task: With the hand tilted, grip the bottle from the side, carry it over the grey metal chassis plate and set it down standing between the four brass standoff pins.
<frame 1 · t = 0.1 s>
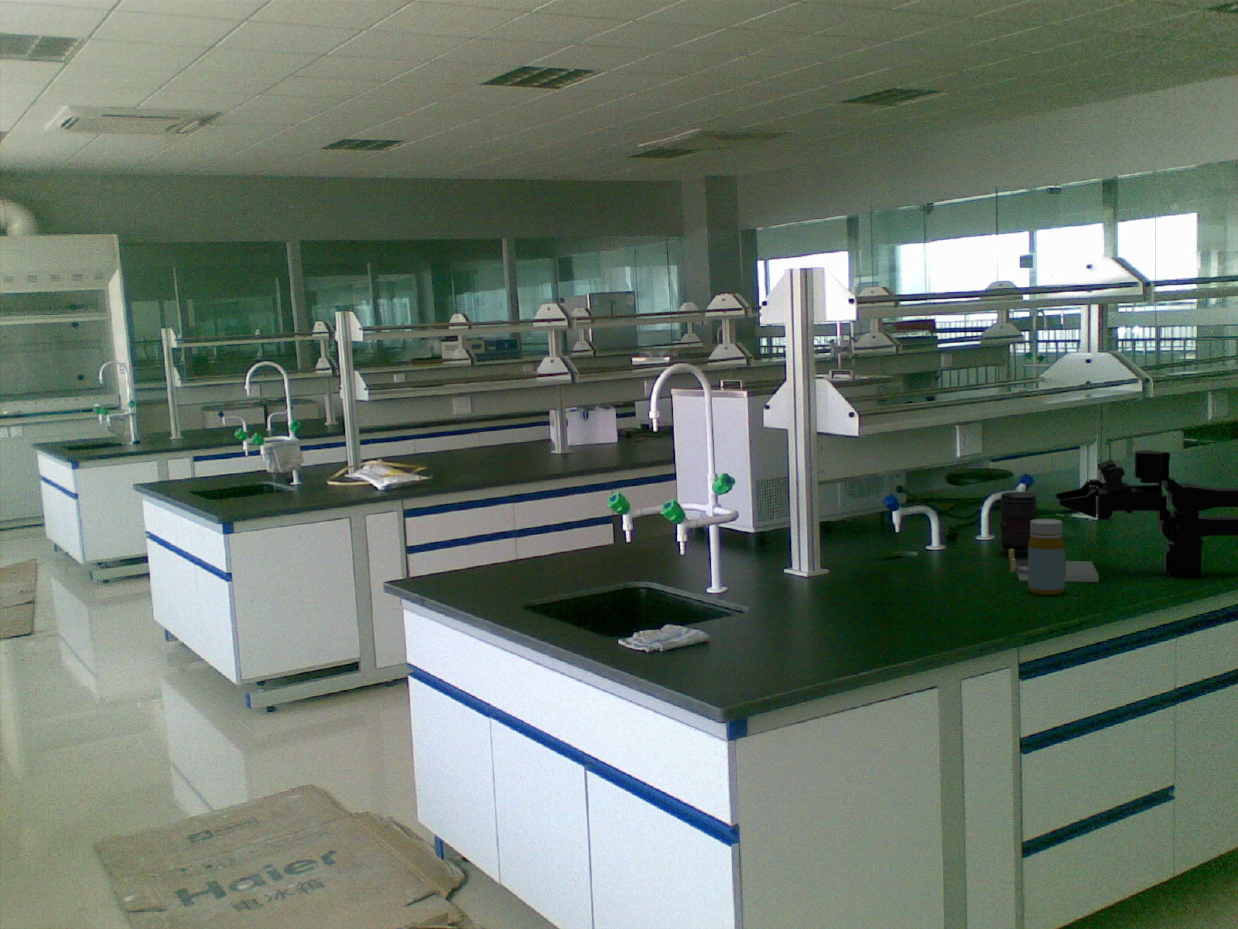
hand: (1057, 499, 241), 17 cm above the countertop, tool horizontal, fingers open, 9 cm apart
chassis: (1055, 574, 241), on the countertop
bottle: (1046, 593, 226), on the countertop
camera lens: (1018, 556, 262), on the countertop
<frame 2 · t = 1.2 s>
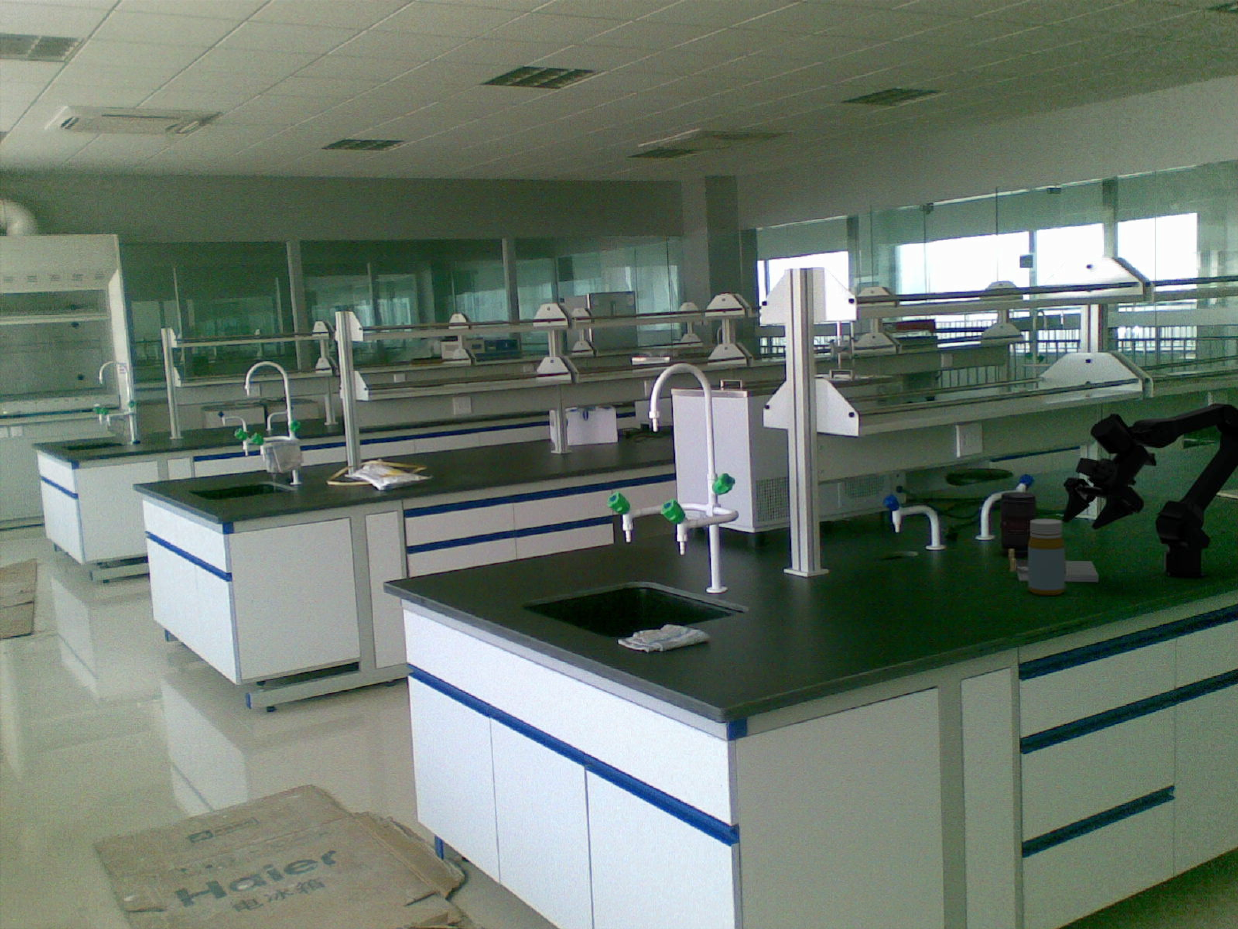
hand: (1078, 524, 227), 13 cm above the countertop, tool tilted 45°, fingers open, 9 cm apart
nothing on the countertop moved.
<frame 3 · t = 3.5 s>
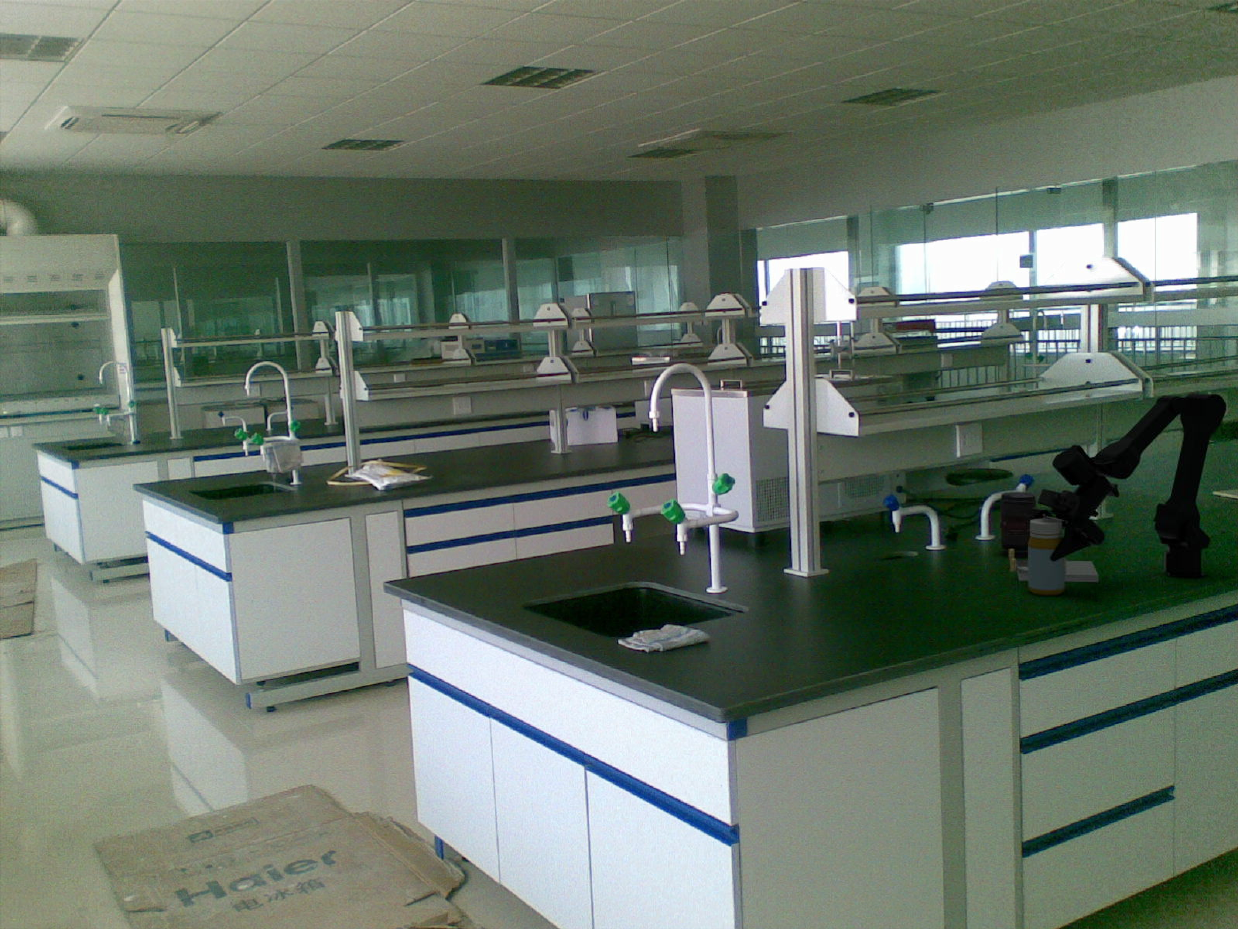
hand: (1040, 557, 225), 8 cm above the countertop, tool tilted 45°, fingers closed on bottle, 7 cm apart
bottle: (1046, 592, 226), on the countertop, touching gripper
everything else where it was.
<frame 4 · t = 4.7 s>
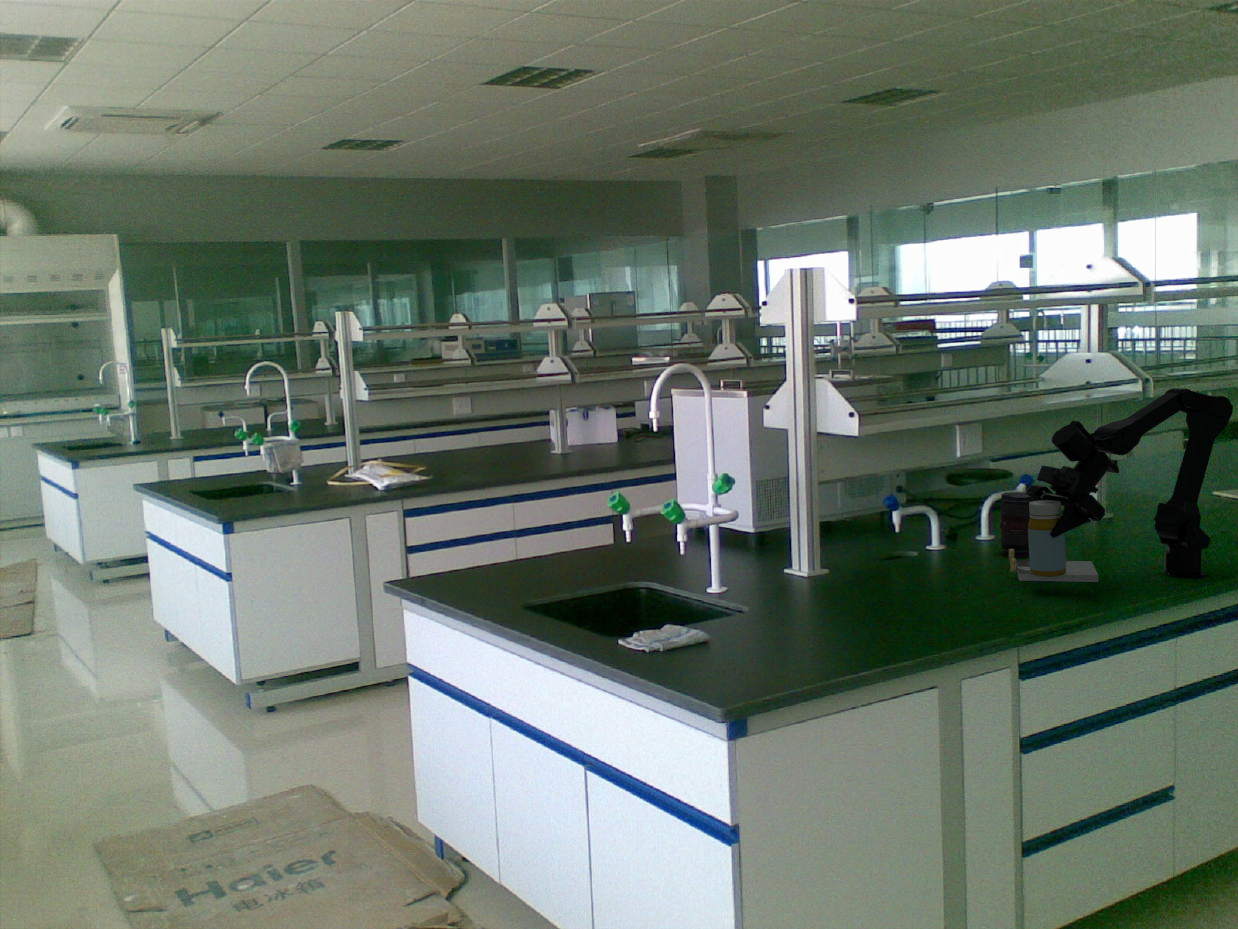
hand: (1040, 533, 224), 13 cm above the countertop, tool tilted 45°, fingers closed on bottle, 7 cm apart
bottle: (1048, 574, 225), point 4 cm above the countertop, touching gripper
everything else where it was.
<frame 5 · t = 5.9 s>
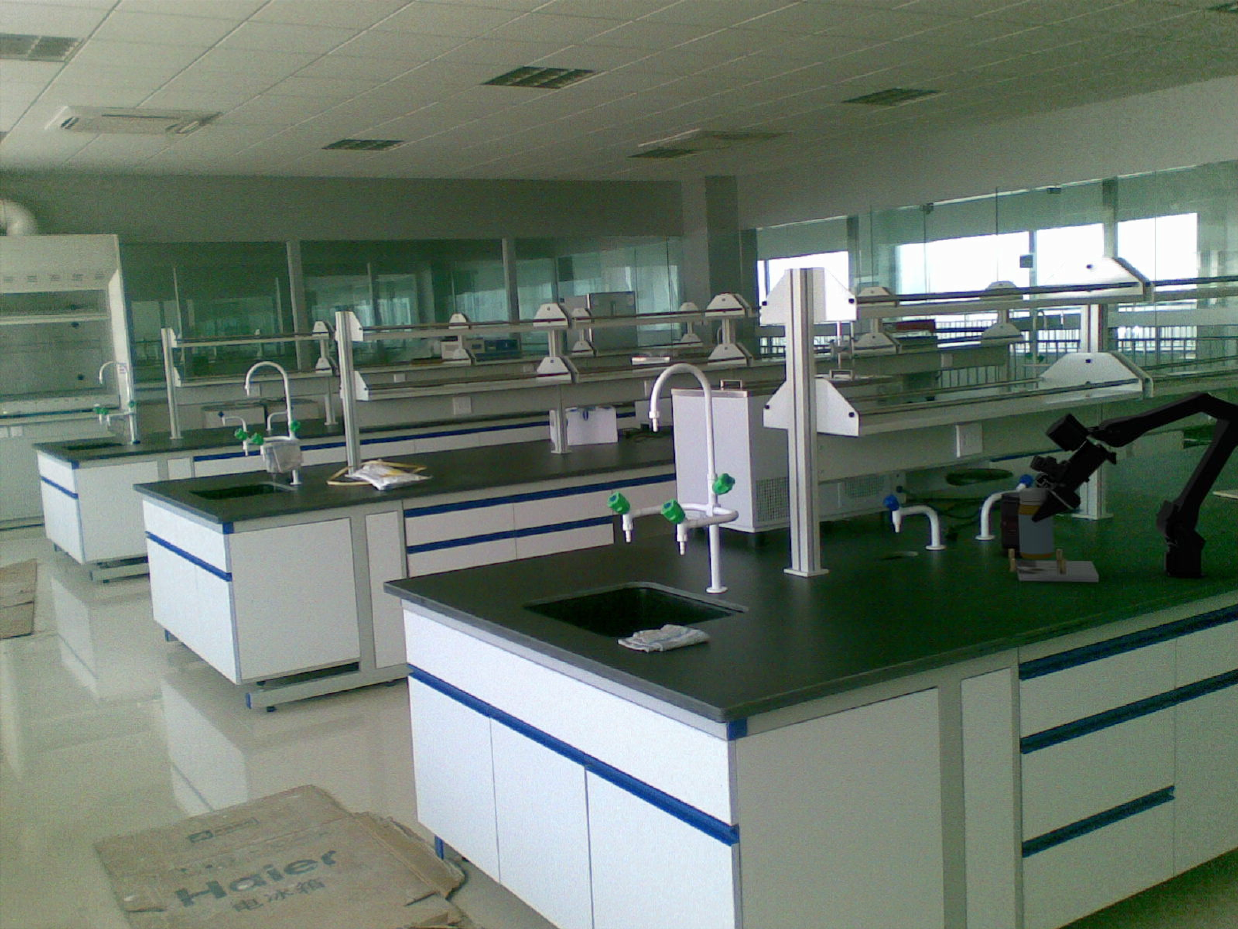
hand: (1029, 518, 239), 13 cm above the countertop, tool tilted 45°, fingers closed on bottle, 7 cm apart
bottle: (1037, 557, 239), point 4 cm above the countertop, touching gripper
everything else where it was.
when the fingers open (11 cm above the countertop, at t = 7.3 s): bottle stays where it is, resting on chassis.
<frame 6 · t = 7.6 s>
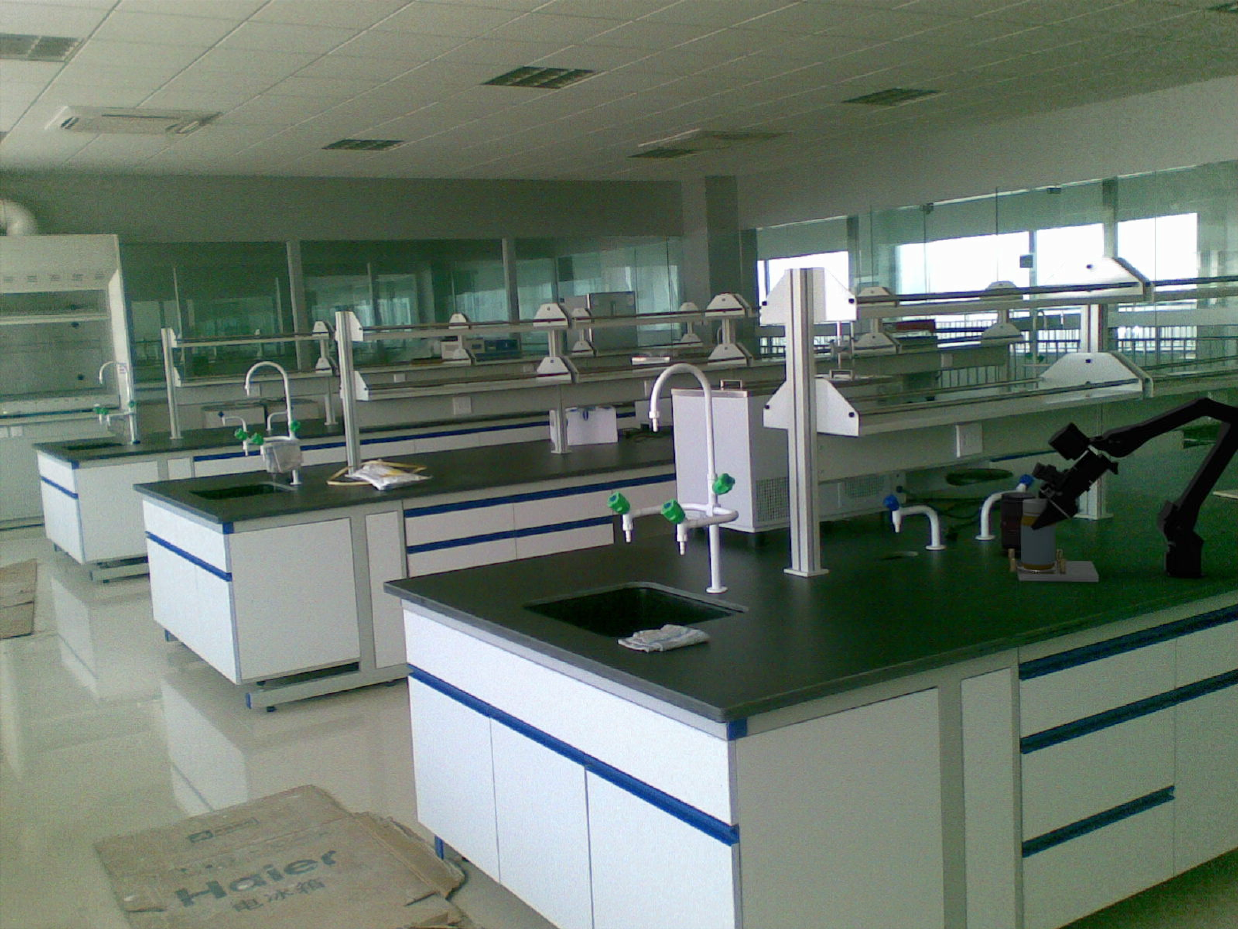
hand: (1029, 525, 241), 11 cm above the countertop, tool tilted 45°, fingers open, 9 cm apart
bottle: (1038, 568, 242), point 1 cm above the countertop, touching chassis
everything else where it was.
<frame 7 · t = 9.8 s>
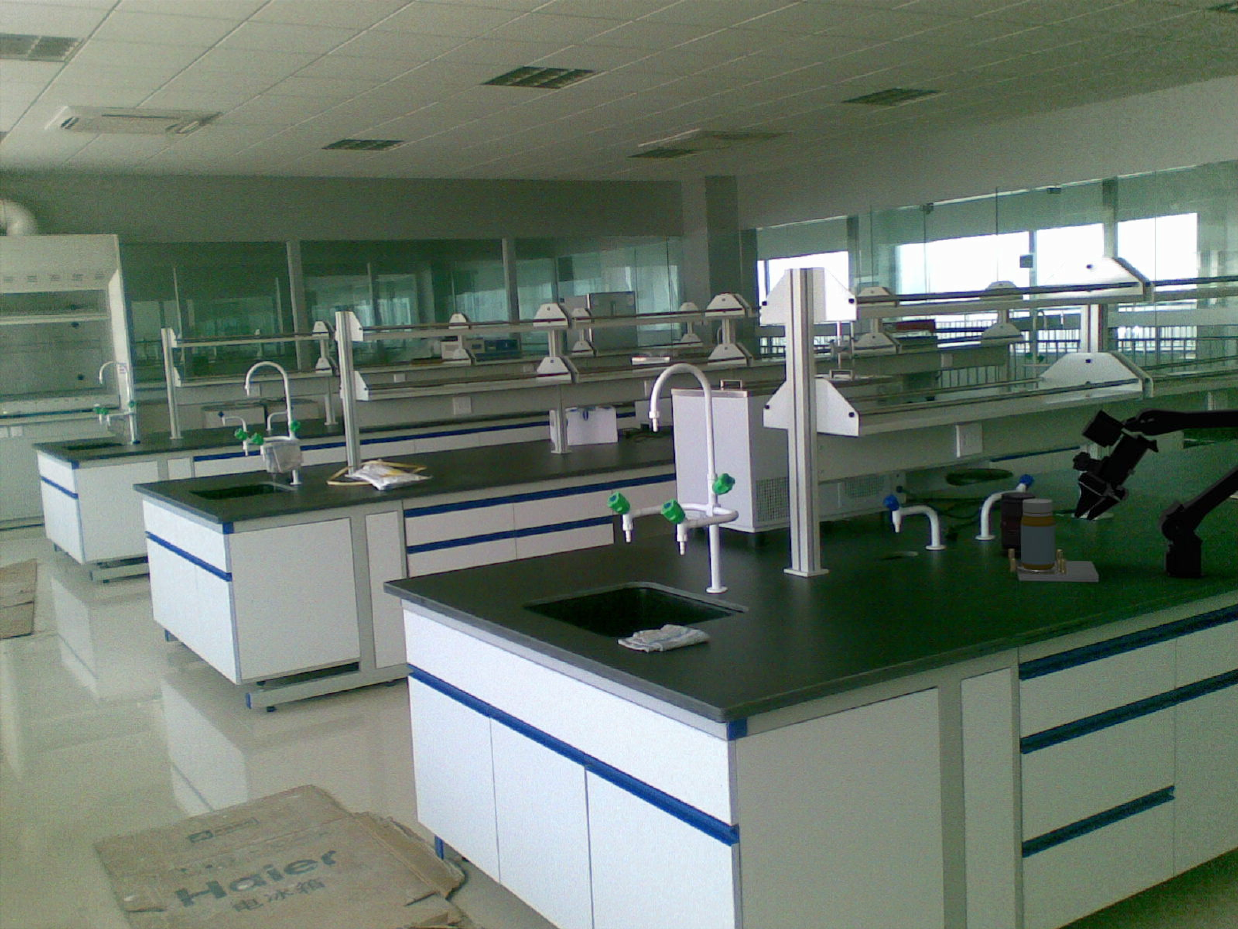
hand: (1082, 518, 240), 12 cm above the countertop, tool tilted 35°, fingers open, 9 cm apart
nothing on the countertop moved.
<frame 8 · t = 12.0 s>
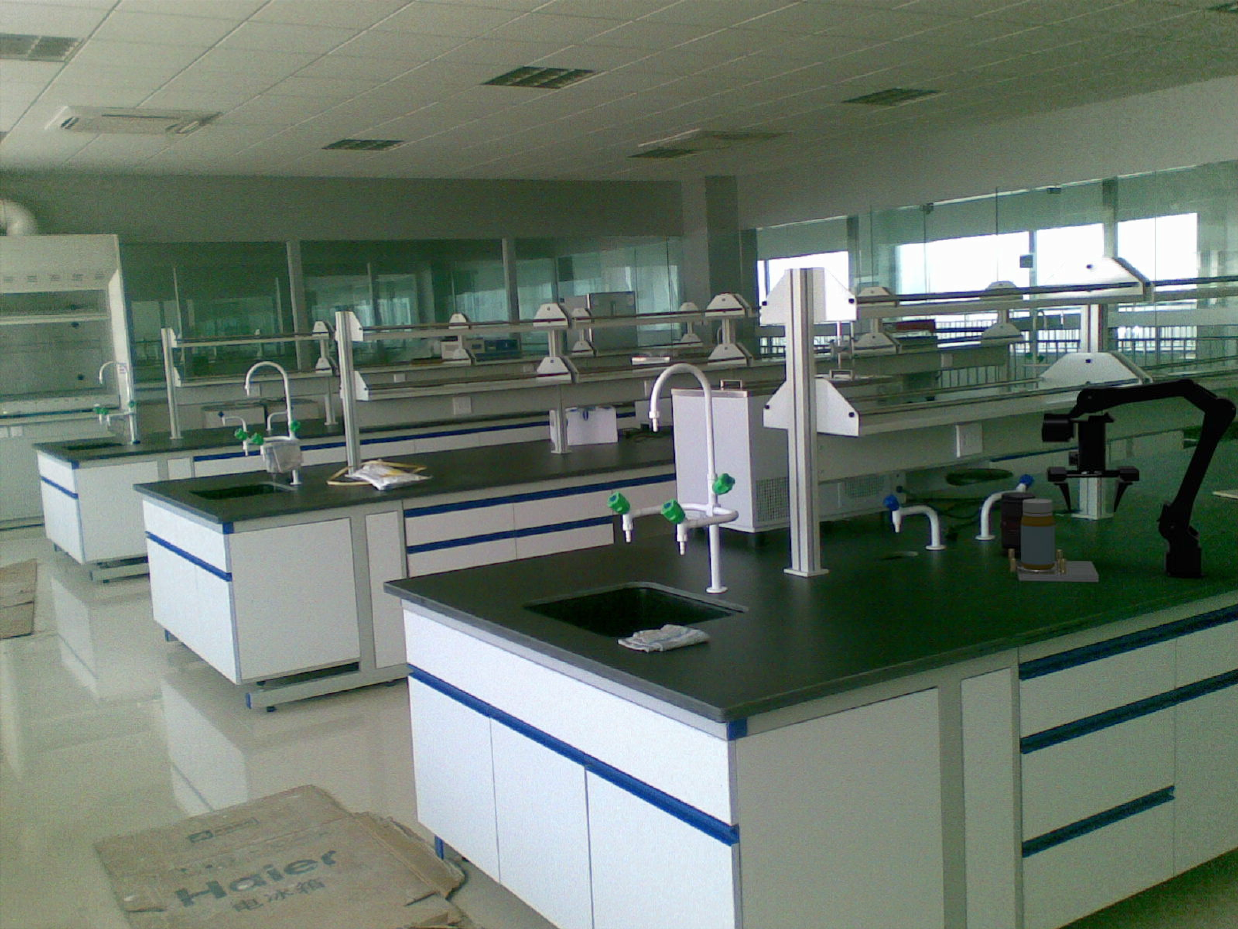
hand: (1091, 512, 243), 13 cm above the countertop, tool pointing down, fingers open, 9 cm apart
nothing on the countertop moved.
at the end: bottle 0.4 cm from the target spot on the chassis, point 1.4 cm above the chassis's base; bottle tilted 0°; the gripper is holding nothing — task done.
